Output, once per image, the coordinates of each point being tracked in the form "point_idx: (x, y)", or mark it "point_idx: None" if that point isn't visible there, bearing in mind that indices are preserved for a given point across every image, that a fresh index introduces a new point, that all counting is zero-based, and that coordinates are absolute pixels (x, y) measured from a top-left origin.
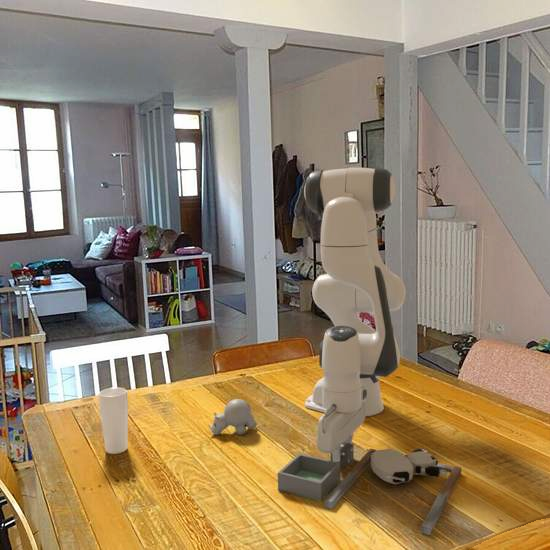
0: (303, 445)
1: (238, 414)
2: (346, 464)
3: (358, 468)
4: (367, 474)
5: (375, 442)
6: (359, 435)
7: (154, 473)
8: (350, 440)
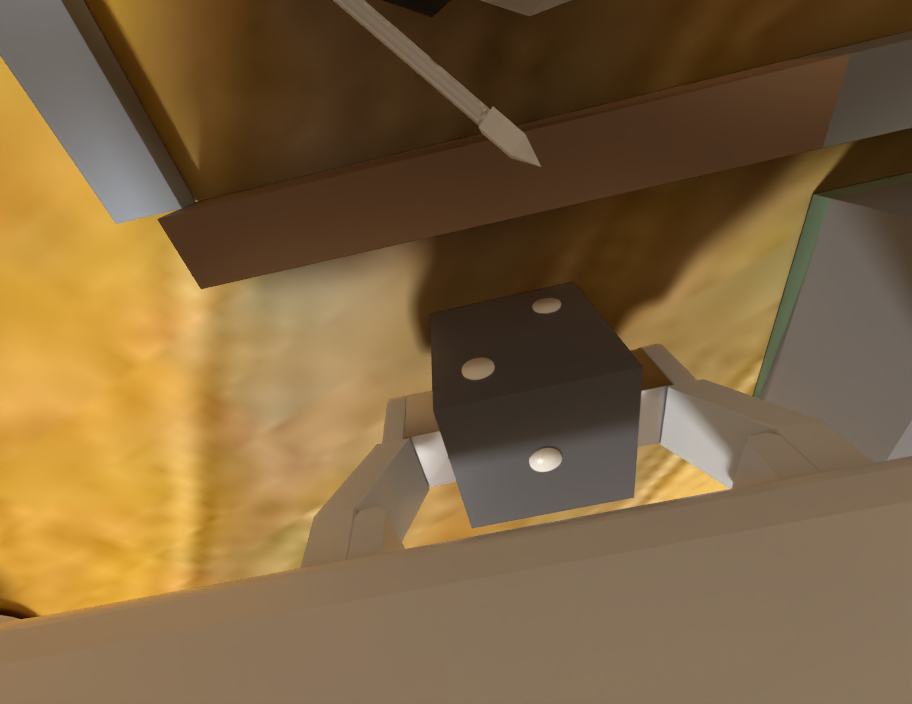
0: None
1: None
2: (581, 298)
3: (701, 115)
4: (610, 27)
5: (18, 361)
6: (81, 489)
7: None
8: (392, 470)
